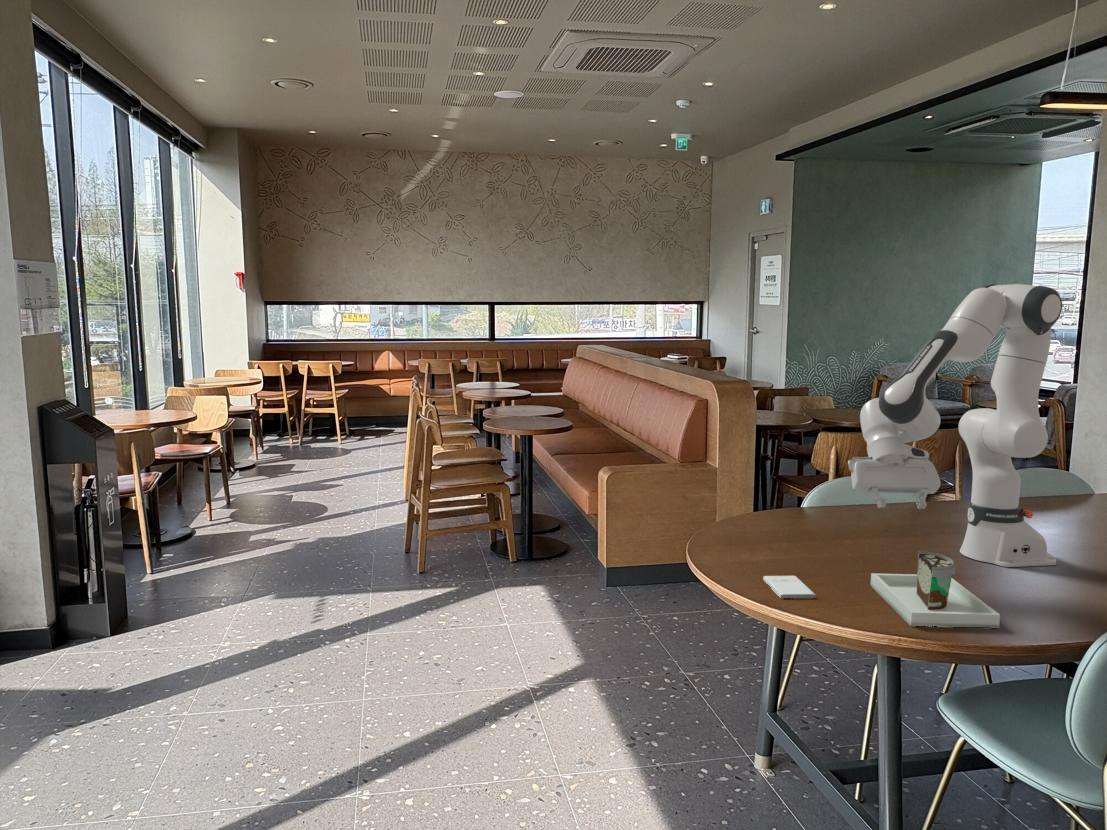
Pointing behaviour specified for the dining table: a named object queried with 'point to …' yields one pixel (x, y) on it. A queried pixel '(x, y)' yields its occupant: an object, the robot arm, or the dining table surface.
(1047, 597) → the dining table surface
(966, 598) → the tray
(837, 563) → the dining table surface
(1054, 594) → the dining table surface
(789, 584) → the external hard drive
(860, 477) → the robot arm
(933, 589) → the food container
